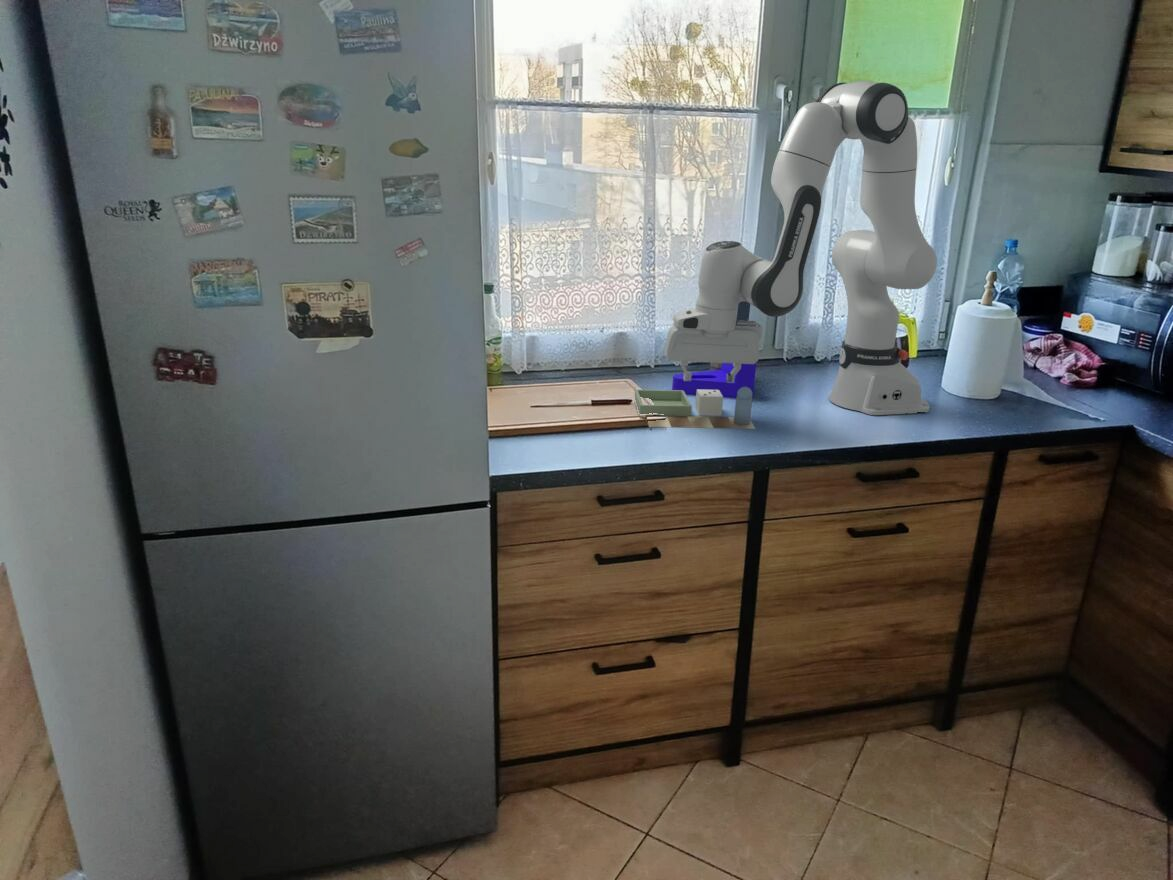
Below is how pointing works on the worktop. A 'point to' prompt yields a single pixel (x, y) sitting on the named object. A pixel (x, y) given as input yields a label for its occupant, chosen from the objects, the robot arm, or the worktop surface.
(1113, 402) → the worktop surface
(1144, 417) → the worktop surface
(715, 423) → the track
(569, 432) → the worktop surface
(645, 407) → the dice tray
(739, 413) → the pawn
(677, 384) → the bracket
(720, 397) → the die
